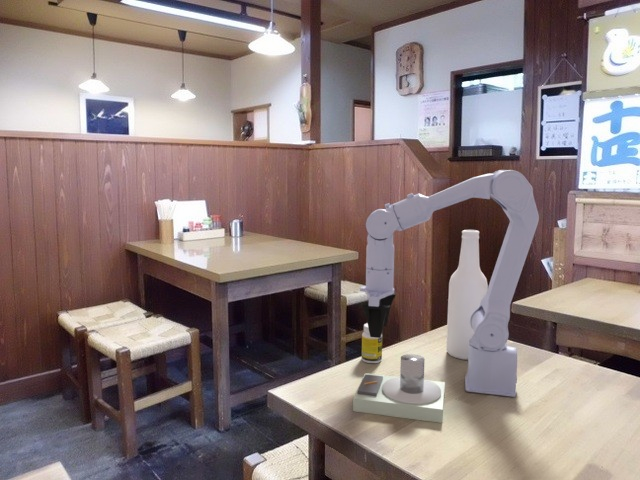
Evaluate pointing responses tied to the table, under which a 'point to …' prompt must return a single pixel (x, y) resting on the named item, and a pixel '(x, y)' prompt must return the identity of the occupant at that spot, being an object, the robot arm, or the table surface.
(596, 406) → the table surface
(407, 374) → the cylinder
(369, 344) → the supplement bottle
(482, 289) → the alcohol
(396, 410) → the scale
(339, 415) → the table surface
